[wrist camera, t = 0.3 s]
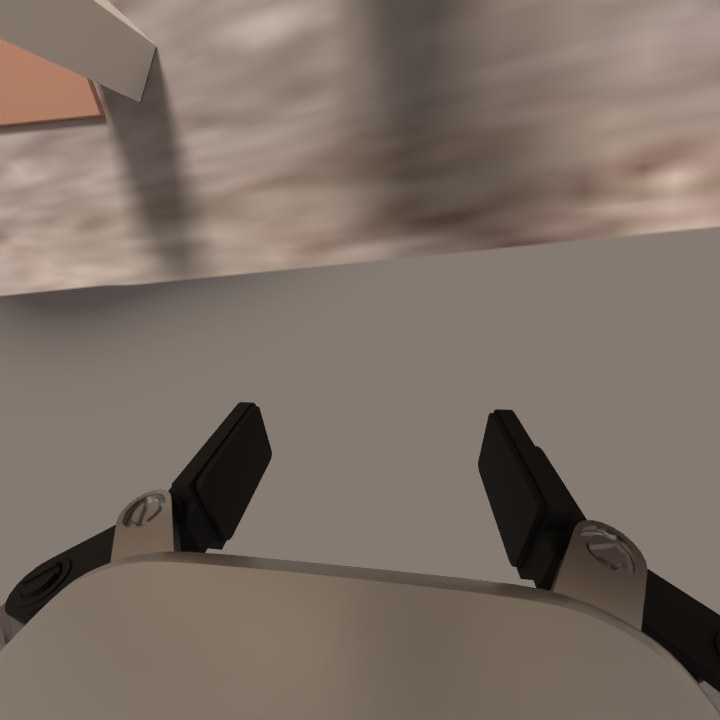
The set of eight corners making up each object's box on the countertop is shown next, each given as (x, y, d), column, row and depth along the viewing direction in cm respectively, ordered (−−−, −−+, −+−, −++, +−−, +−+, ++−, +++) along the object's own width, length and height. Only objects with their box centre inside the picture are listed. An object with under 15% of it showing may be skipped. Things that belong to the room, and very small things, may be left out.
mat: (-95, 16, 30) (-103, 12, 30) (59, -9, 28) (52, -14, 28) (-31, 129, 35) (-38, 128, 34) (105, 115, 33) (100, 114, 32)
